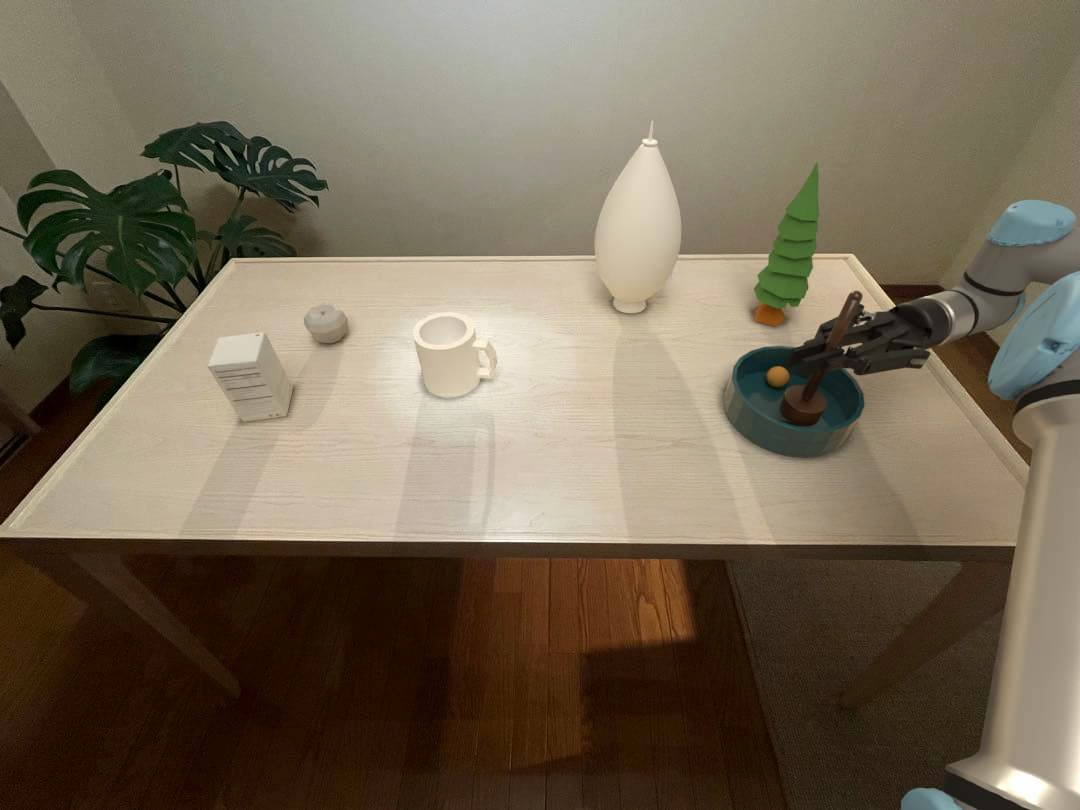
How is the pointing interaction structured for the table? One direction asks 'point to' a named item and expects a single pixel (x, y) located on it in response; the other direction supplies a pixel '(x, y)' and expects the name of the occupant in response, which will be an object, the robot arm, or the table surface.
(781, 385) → the dough ball
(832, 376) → the bowl
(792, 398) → the wooden peg stand
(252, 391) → the white packaging box
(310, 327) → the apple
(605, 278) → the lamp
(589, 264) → the table surface
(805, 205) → the decorative tree
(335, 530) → the table surface
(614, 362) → the table surface
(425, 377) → the mug
